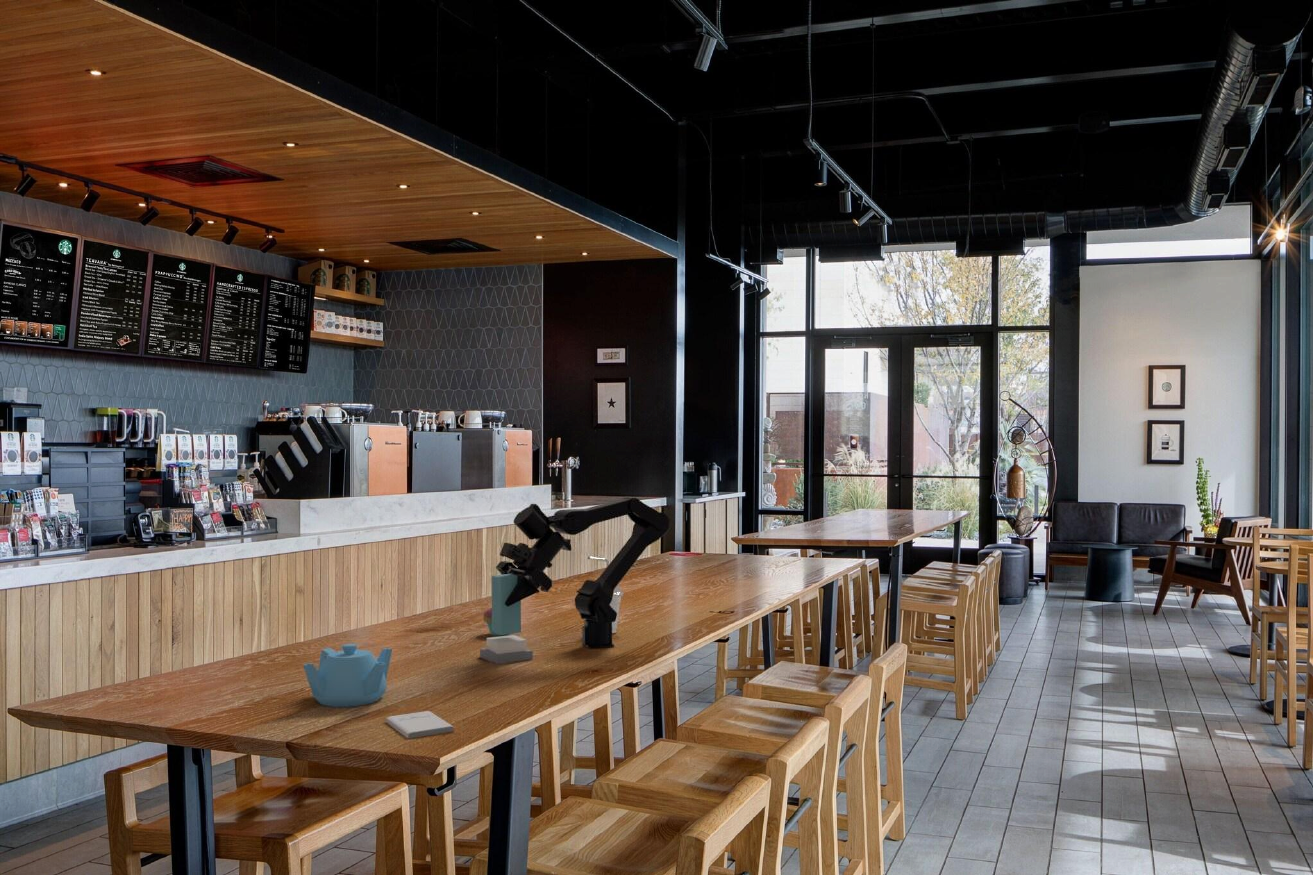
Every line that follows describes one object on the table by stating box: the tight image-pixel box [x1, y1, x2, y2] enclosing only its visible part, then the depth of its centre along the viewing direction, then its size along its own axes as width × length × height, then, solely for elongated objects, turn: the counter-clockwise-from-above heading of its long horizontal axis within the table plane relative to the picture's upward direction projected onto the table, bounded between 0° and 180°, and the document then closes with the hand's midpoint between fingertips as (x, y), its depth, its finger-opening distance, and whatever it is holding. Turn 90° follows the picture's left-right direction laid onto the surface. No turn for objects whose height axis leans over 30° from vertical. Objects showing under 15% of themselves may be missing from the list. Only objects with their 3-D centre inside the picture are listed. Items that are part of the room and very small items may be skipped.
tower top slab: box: [486, 634, 527, 654], centre depth 246 cm, size 7×7×2 cm
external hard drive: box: [385, 710, 455, 740], centre depth 188 cm, size 2×8×12 cm
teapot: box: [302, 643, 393, 708], centre depth 208 cm, size 15×15×11 cm
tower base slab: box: [479, 647, 534, 665], centre depth 246 cm, size 9×9×2 cm
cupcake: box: [482, 607, 508, 637], centre depth 277 cm, size 9×8×12 cm
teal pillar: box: [491, 574, 522, 636], centre depth 246 cm, size 5×5×13 cm
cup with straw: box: [587, 556, 624, 634], centre depth 279 cm, size 8×9×20 cm
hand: (500, 603), depth 246 cm, fingers closed on teal pillar, 5 cm apart
